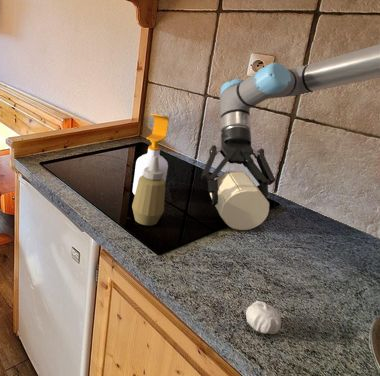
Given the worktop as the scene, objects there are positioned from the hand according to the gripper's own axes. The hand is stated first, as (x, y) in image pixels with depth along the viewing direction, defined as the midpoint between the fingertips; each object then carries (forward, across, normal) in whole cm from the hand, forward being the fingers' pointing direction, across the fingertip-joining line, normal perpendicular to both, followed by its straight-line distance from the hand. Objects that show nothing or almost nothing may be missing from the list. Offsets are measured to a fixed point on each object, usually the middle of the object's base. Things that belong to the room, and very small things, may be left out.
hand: (238, 206), depth 106 cm
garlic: (+32, +6, +26) cm, 41 cm away
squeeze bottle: (+7, +24, 0) cm, 25 cm away
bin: (+3, 0, +5) cm, 5 cm away
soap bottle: (-5, +22, -11) cm, 25 cm away
